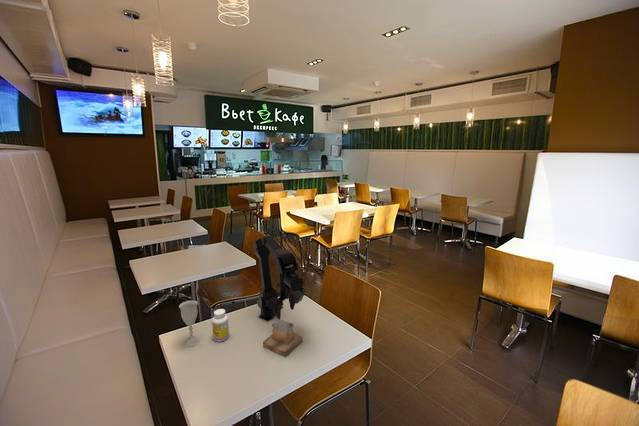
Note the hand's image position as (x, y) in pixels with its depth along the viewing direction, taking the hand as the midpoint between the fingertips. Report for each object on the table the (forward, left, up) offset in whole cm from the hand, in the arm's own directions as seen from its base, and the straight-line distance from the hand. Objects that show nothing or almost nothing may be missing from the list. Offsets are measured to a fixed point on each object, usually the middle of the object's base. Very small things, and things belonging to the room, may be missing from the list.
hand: (285, 314), depth 129 cm
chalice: (-32, -24, -12) cm, 42 cm away
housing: (+2, -4, -9) cm, 10 cm away
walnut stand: (+2, -4, -12) cm, 12 cm away
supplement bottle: (-24, -15, -12) cm, 31 cm away
